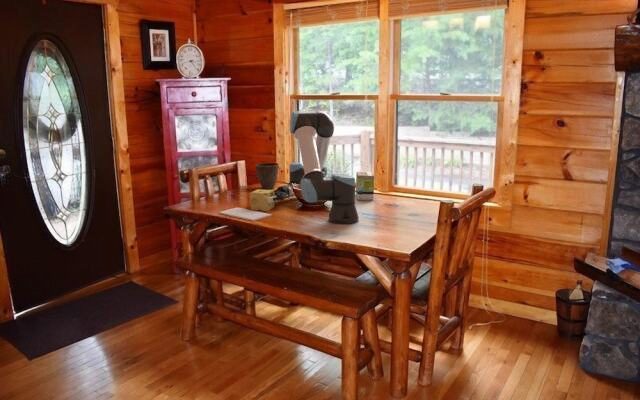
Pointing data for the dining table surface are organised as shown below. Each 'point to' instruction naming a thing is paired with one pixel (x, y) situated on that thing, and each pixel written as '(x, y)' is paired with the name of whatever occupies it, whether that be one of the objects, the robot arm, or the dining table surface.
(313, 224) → the dining table surface
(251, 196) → the cheese
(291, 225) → the dining table surface
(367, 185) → the tea box
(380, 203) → the dining table surface
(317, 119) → the robot arm
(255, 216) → the mat
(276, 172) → the plant pot
